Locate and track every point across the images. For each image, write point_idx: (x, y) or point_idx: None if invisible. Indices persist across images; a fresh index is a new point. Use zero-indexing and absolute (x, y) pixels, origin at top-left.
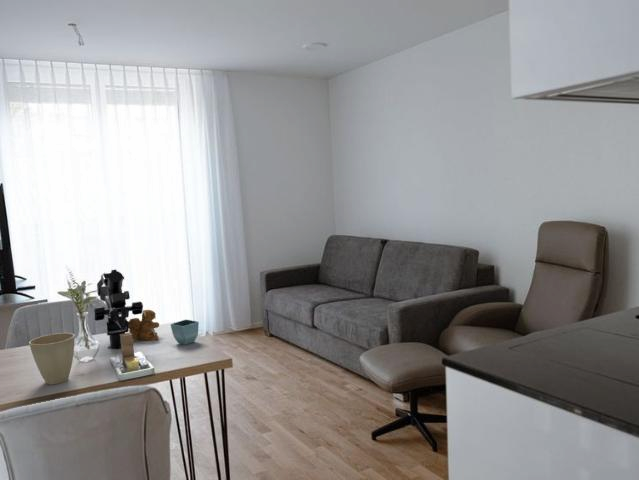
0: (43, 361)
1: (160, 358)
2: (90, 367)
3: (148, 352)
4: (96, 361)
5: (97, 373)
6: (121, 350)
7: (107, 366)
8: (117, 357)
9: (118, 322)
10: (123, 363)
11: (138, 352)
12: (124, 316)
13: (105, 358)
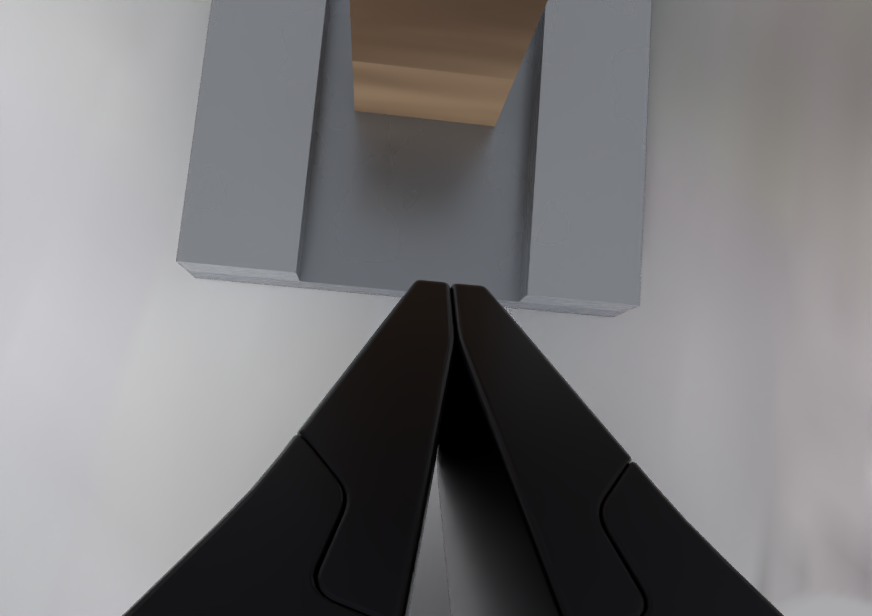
0: None
1: (12, 21)
2: (855, 304)
3: (38, 427)
4: (761, 522)
5: (806, 11)
6: (527, 42)
7: (668, 189)
8: (546, 216)
9: (580, 405)
10: None
11: (223, 241)
12: (234, 545)
13: None
